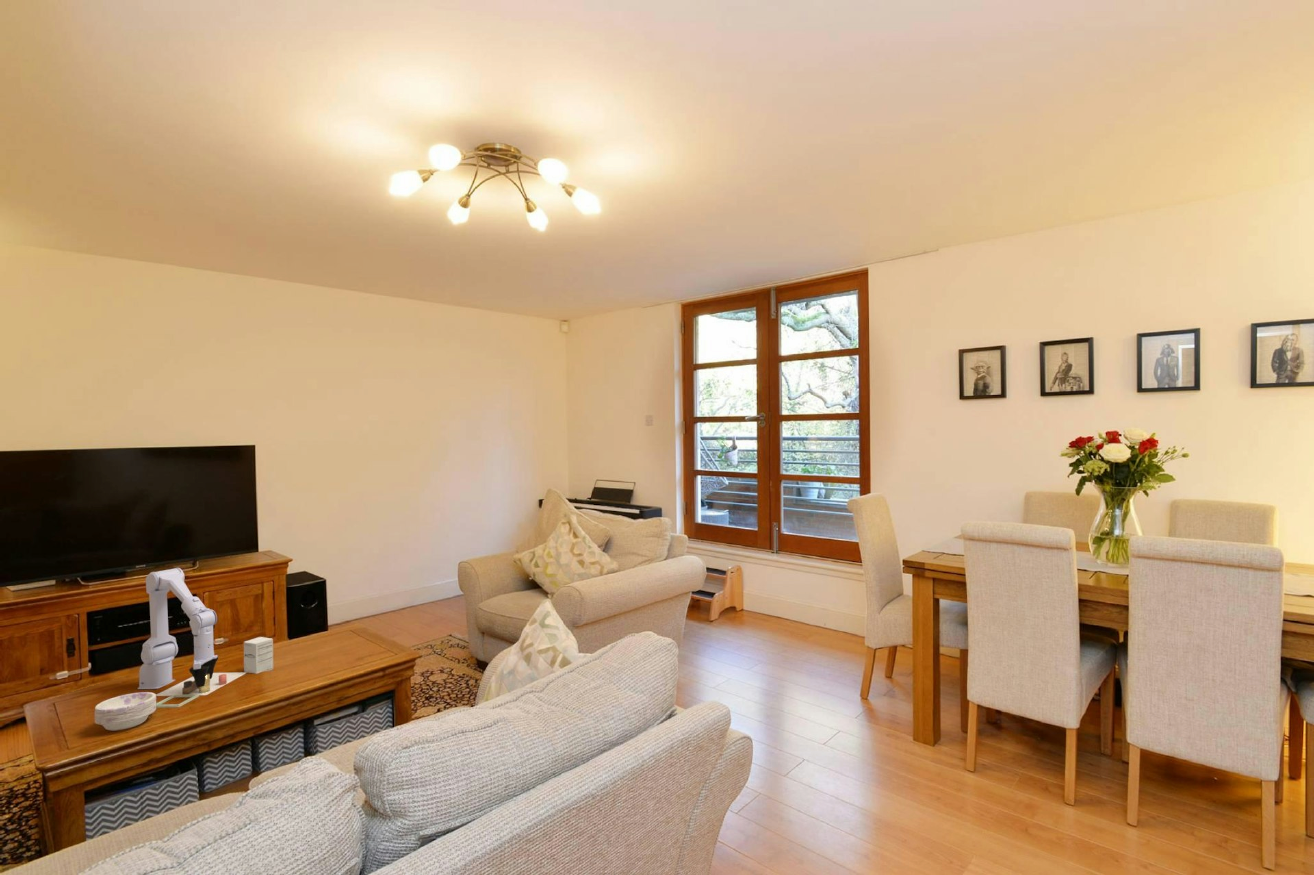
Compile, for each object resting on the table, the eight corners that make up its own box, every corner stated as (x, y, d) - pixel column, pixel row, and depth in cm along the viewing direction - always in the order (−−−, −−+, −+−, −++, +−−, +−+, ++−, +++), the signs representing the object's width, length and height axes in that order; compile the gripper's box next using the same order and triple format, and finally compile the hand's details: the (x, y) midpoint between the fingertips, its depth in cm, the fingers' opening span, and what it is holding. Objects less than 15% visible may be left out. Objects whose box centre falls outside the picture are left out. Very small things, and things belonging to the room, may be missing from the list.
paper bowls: (154, 710, 212) (154, 687, 212) (158, 724, 201) (158, 699, 201) (94, 724, 201) (93, 700, 202) (95, 740, 190) (94, 714, 190)
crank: (199, 681, 235) (199, 670, 235) (212, 680, 236) (212, 669, 236) (178, 694, 222) (178, 684, 222) (192, 693, 223) (192, 683, 223)
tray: (152, 710, 212) (152, 705, 212) (173, 698, 221) (173, 694, 221) (178, 709, 212) (178, 705, 212) (199, 698, 221) (199, 694, 221)
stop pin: (196, 693, 224) (196, 676, 224) (203, 689, 227) (203, 673, 227) (205, 693, 224) (205, 676, 224) (212, 689, 227) (211, 673, 227)
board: (153, 698, 222) (153, 695, 222) (199, 675, 244) (199, 673, 244) (206, 697, 222) (206, 695, 222) (247, 674, 244) (247, 672, 244)
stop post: (217, 685, 231) (217, 676, 231) (221, 682, 234) (221, 674, 234) (223, 685, 231) (223, 676, 231) (228, 682, 234) (228, 674, 234)
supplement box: (243, 673, 245) (242, 641, 245) (261, 667, 252) (261, 636, 252) (256, 676, 242) (255, 643, 242) (274, 669, 249) (273, 638, 249)
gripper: (209, 649, 220) (210, 688, 220) (223, 638, 234) (223, 674, 234) (186, 652, 218) (186, 691, 217) (201, 640, 231) (201, 677, 231)
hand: (204, 682), depth 225 cm, fingers open, 7 cm apart
